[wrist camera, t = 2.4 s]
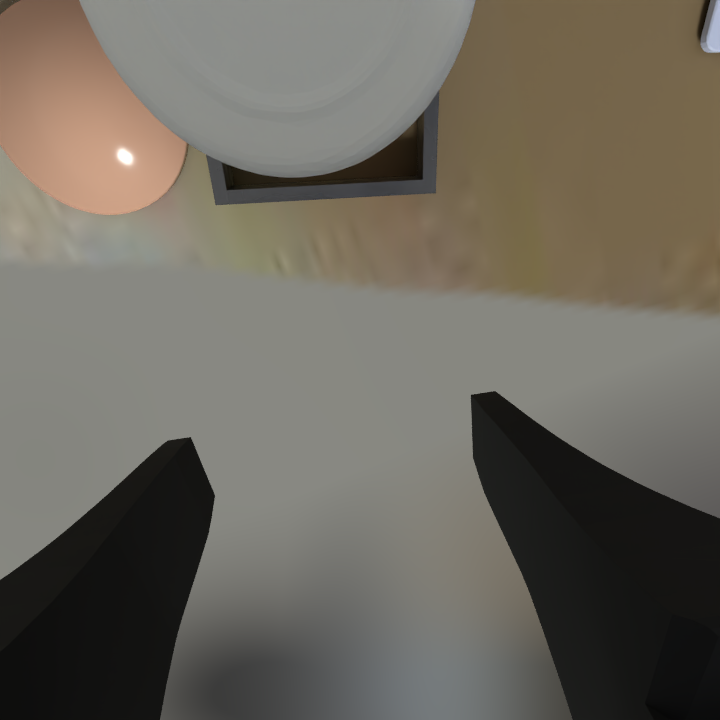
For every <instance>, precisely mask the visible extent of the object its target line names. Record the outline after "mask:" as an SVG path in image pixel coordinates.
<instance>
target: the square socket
mask: <svg viewBox="0 0 720 720" xmlns="http://www.w3.org/2000/svg"><path fill="white" fill-rule="evenodd" d="M438 107H439V91H438V92H437V94H436V95H435V97H434V98H433V100H432V101H431V103H430V104H429V106H428V107H427V108H426V109H425V110H424V111H423V113H422V114H421V115H420V116H419V117H418V118H417V176H399V177H381V178H362V179H344V180H325V181H307V182H288V183H270V184H251V185H234V179H233V173H232V167H231V166H230V165H227V164H225V163H223V162H221V161H219V160H216V159H214V158H212V157H210V156H208V155H206V156H207V161H208V167H209V172H210V177H211V182H212V188H213V193H214V198H215V204H216V205H226V204H244V203H262V202H281V201H299V200H317V199H335V198H354V197H372V196H390V195H408V194H426V193H436V167H437V137H438Z"/></svg>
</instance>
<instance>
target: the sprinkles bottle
mask: <svg viewBox="0 0 720 720" xmlns="http://www.w3.org/2000/svg"><path fill="white" fill-rule="evenodd" d="M79 1H80V4H81V7H82V9H83V11H84V13H85V15H86V17H87V19H88V21H89V23H90V26H91V28H92V30H93V32H94V34H95V36H96V38H97V39H98V41H99V43H100V45H101V47H102V49H103V51H104V53H105V54H106V56H107V57H108V59H109V60H110V62H111V63H112V65H113V66H114V68H115V69H116V71H117V72H118V74H119V75H120V77H121V78H122V80H123V81H124V82H125V84H126V85H127V86H128V87H129V88H130V90H131V91H132V92H133V93H134V94H135V96H136V97H137V98H138V99H139V100H140V101H141V102H142V103H143V104H144V106H145V107H146V108H147V109H148V110H149V111H150V112H151V113H152V114H153V115H154V116H155V117H156V118H157V119H158V120H159V121H160V122H161V123H162V124H164V125H165V126H166V127H167V128H168V129H169V130H170V131H172V132H173V133H174V134H176V135H177V136H178V137H179V138H181V139H182V140H184V141H185V142H187V143H188V144H190V145H191V146H193V147H194V148H196V149H197V150H199V151H201V152H203V153H204V154H206V155H208V156H210V157H212V158H214V159H216V160H219V161H221V162H223V163H225V164H227V165H230V166H233V167H236V168H239V169H242V170H245V171H249V172H253V173H256V174H260V175H267V176H275V177H286V178H295V177H310V176H317V175H324V174H328V173H332V172H336V171H339V170H342V169H345V168H347V167H350V166H353V165H356V164H358V163H360V162H362V161H364V160H366V159H368V158H370V157H371V156H373V155H374V154H376V153H377V152H379V151H381V150H382V149H384V148H385V147H387V146H388V145H389V144H390V143H392V142H393V141H394V140H396V139H397V138H398V137H399V136H400V135H402V134H403V133H404V132H405V131H406V130H407V129H408V128H409V127H410V126H411V125H412V124H413V123H414V122H415V121H416V120H417V118H418V117H419V116H420V115H421V114H422V113H423V111H424V110H425V109H426V108H427V107H428V106H429V104H430V103H431V101H432V100H433V98H434V97H435V95H436V94H437V92H438V91H439V89H440V88H441V86H442V84H443V83H444V81H445V79H446V77H447V75H448V74H449V72H450V70H451V68H452V66H453V64H454V62H455V60H456V58H457V55H458V53H459V51H460V49H461V46H462V43H463V40H464V38H465V35H466V32H467V29H468V27H469V24H470V20H471V16H472V12H473V8H474V5H475V1H476V0H79Z"/></svg>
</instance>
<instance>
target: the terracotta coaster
mask: <svg viewBox="0 0 720 720" xmlns="http://www.w3.org/2000/svg"><path fill="white" fill-rule="evenodd" d="M0 145H1V147H2V148H3V150H4V151H5V152H6V154H7V155H8V157H9V158H10V159H11V161H12V162H13V163H14V164H15V165H16V167H17V168H18V169H19V170H20V171H21V172H22V173H23V174H24V175H25V176H26V177H27V178H28V179H29V180H30V181H31V182H32V183H34V184H35V185H36V186H37V187H39V188H40V189H41V190H42V191H44V192H45V193H47V194H48V195H50V196H51V197H53V198H55V199H56V200H58V201H60V202H62V203H64V204H66V205H68V206H71V207H74V208H76V209H79V210H82V211H86V212H90V213H96V214H103V215H117V214H125V213H129V212H133V211H137V210H139V209H141V208H144V207H146V206H148V205H150V204H152V203H154V202H155V201H157V200H159V199H160V198H161V197H162V196H164V195H165V194H166V193H167V192H168V191H169V190H170V188H171V187H172V186H173V185H174V184H175V182H176V180H177V179H178V177H179V175H180V173H181V171H182V169H183V166H184V164H185V160H186V156H187V152H188V143H187V142H185V141H184V140H182V139H181V138H179V137H178V136H177V135H176V134H174V133H173V132H172V131H170V130H169V129H168V128H167V127H166V126H165V125H164V124H162V123H161V122H160V121H159V120H158V119H157V118H156V117H155V116H154V115H153V114H152V113H151V112H150V111H149V110H148V109H147V108H146V107H145V106H144V104H143V103H142V102H141V101H140V100H139V99H138V98H137V97H136V96H135V94H134V93H133V92H132V91H131V90H130V88H129V87H128V86H127V85H126V84H125V82H124V81H123V80H122V78H121V77H120V75H119V74H118V72H117V71H116V69H115V68H114V66H113V65H112V63H111V62H110V60H109V59H108V57H107V56H106V54H105V53H104V51H103V49H102V47H101V45H100V43H99V41H98V39H97V38H96V36H95V34H94V32H93V30H92V28H91V26H90V23H89V21H88V19H87V17H86V15H85V13H84V11H83V9H82V7H81V4H80V1H79V0H20V1H18V2H16V3H15V4H13V5H11V6H10V7H9V8H7V9H6V10H5V11H4V12H3V13H1V15H0Z"/></svg>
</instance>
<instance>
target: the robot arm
mask: <svg viewBox="0 0 720 720" xmlns="http://www.w3.org/2000/svg"><path fill="white" fill-rule="evenodd" d="M701 47H702V49H703V50H704V51H705V52H709V53H717V52H720V0H711V1H710V4H709V8H708V12H707V16H706V20H705V24H704V28H703V31H702V35H701ZM471 410H472V437H473V438H472V439H473V459H474V462H475V465H476V468H477V472H478V475H479V478H480V481H481V484H482V487H483V490H484V493H485V495H486V497H487V499H488V502H489V504H490V506H491V508H492V511H493V513H494V515H495V517H496V519H497V521H498V523H499V526H500V528H501V530H502V532H503V534H504V536H505V539H506V541H507V542H508V545H509V547H510V549H511V551H512V554H513V556H514V558H515V560H516V562H517V564H518V566H519V568H520V571H521V573H522V575H523V578H524V580H525V583H526V585H527V587H528V590H529V592H530V595H531V598H532V600H533V603H534V606H535V609H536V612H537V615H538V617H539V620H540V623H541V626H542V629H543V632H544V634H545V637H546V640H547V643H548V646H549V649H550V652H551V655H552V658H553V661H554V664H555V667H556V670H557V673H558V676H559V678H560V681H561V685H562V688H563V691H564V694H565V697H566V700H567V703H568V706H569V709H570V713H571V715H572V719H573V720H720V518H717V517H715V516H712V515H710V514H707V513H705V512H702V511H699V510H697V509H695V508H692V507H690V506H687V505H685V504H683V503H681V502H678V501H676V500H674V499H671V498H669V497H667V496H665V495H662V494H660V493H658V492H655V491H653V490H651V489H649V488H647V487H645V486H643V485H641V484H639V483H637V482H634V481H633V480H631V479H629V478H627V477H625V476H623V475H621V474H619V473H617V472H615V471H614V470H612V469H610V468H608V467H606V466H604V465H602V464H601V463H599V462H597V461H595V460H594V459H592V458H590V457H588V456H587V455H585V454H584V453H582V452H581V451H579V450H577V449H576V448H574V447H572V446H571V445H569V444H568V443H566V442H565V441H563V440H561V439H560V438H558V437H557V436H555V435H554V434H553V433H551V432H550V431H548V430H547V429H545V428H544V427H542V426H541V425H540V424H538V423H537V422H535V421H534V420H533V419H531V418H530V417H528V416H527V415H526V414H525V413H523V412H522V411H521V410H519V409H518V408H517V407H515V406H514V405H513V404H511V403H510V402H509V401H508V400H506V399H505V398H503V397H502V396H501V395H500V394H498V393H497V392H495V391H494V392H487V393H480V394H474V395H471ZM214 498H215V495H214V492H213V490H212V488H211V485H210V483H209V480H208V478H207V475H206V473H205V471H204V468H203V466H202V463H201V461H200V458H199V456H198V454H197V451H196V449H195V446H194V444H193V442H192V439H191V437H189V438H182V439H176V440H170V441H167V442H165V443H164V444H163V445H162V446H161V447H159V448H158V449H157V450H156V451H155V452H153V453H152V454H151V455H150V456H149V457H148V458H147V459H146V460H145V461H144V462H142V463H141V464H140V465H139V466H138V467H137V468H136V469H135V470H134V471H133V472H132V473H131V474H129V475H128V476H127V477H126V478H125V479H124V480H123V481H122V482H121V483H120V484H119V485H117V486H116V487H115V488H114V489H113V490H112V491H111V492H110V493H109V494H108V495H107V496H106V497H104V498H103V499H102V500H101V501H100V502H99V503H98V504H96V505H95V506H94V507H93V508H92V509H91V510H89V511H88V512H87V513H86V514H85V515H84V516H83V517H81V518H80V519H79V520H78V521H77V522H75V523H74V524H73V525H72V526H71V527H70V528H68V529H67V530H66V531H65V532H64V533H62V534H61V535H60V536H59V537H57V538H56V539H55V540H54V541H53V542H51V543H50V544H49V545H47V546H46V547H45V548H44V549H42V550H41V551H40V552H38V553H37V554H36V555H34V556H33V557H32V558H30V559H29V560H28V561H26V562H25V563H23V564H22V565H21V566H20V567H18V568H17V569H15V570H14V571H13V572H11V573H10V574H8V575H7V576H5V577H4V578H2V579H1V580H0V720H160V716H161V711H162V705H163V700H164V694H165V689H166V684H167V679H168V674H169V670H170V665H171V660H172V655H173V651H174V646H175V642H176V638H177V634H178V630H179V626H180V623H181V620H182V616H183V613H184V610H185V607H186V604H187V601H188V598H189V594H190V591H191V588H192V585H193V582H194V579H195V575H196V572H197V569H198V566H199V563H200V559H201V556H202V553H203V550H204V547H205V543H206V540H207V537H208V533H209V528H210V523H211V518H212V511H213V505H214Z"/></svg>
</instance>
